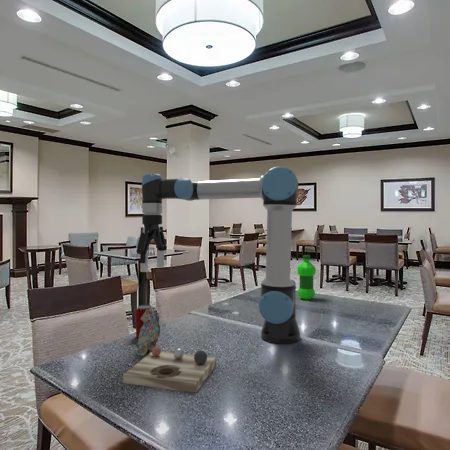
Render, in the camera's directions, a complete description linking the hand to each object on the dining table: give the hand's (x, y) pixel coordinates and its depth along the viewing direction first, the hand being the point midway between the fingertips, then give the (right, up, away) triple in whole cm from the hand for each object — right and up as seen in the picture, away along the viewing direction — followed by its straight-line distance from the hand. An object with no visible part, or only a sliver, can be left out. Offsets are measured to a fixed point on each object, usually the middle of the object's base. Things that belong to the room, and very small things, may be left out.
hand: (152, 269), depth 139 cm
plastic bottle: (+75, -26, +68) cm, 104 cm away
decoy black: (+21, -23, -29) cm, 43 cm away
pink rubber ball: (+6, -24, -23) cm, 33 cm away
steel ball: (+13, -24, -25) cm, 37 cm away
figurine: (+1, -28, -12) cm, 30 cm away
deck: (+12, -28, -30) cm, 43 cm away
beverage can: (-4, -27, +3) cm, 28 cm away
